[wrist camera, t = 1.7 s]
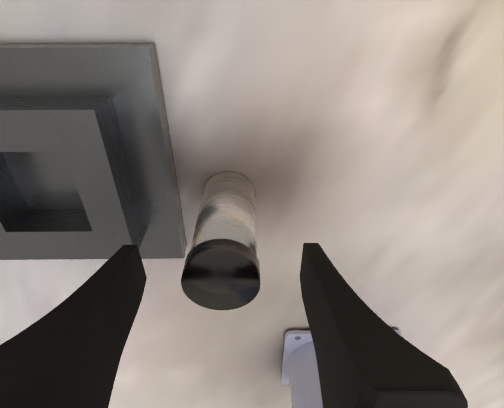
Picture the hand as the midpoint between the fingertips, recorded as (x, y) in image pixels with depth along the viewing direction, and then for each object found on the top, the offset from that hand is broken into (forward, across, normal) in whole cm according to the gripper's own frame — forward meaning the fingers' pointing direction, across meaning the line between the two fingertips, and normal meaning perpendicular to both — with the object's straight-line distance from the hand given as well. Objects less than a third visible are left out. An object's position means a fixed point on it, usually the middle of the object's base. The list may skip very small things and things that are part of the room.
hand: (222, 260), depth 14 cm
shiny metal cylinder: (+6, 0, 0) cm, 6 cm away
